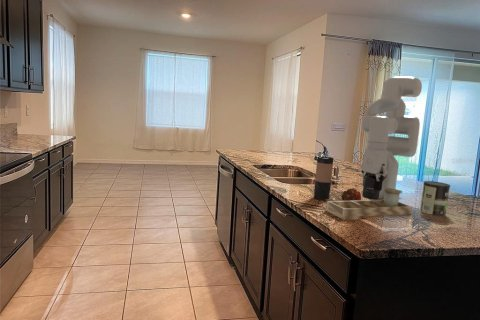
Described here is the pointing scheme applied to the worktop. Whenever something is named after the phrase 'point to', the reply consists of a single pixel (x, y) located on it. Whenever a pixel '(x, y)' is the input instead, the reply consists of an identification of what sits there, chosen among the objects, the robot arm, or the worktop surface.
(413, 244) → the worktop surface
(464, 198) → the worktop surface
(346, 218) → the rack
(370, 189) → the supplement bottle
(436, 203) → the coffee can
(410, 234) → the worktop surface
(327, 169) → the travel mug
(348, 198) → the dragon fruit
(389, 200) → the canister
